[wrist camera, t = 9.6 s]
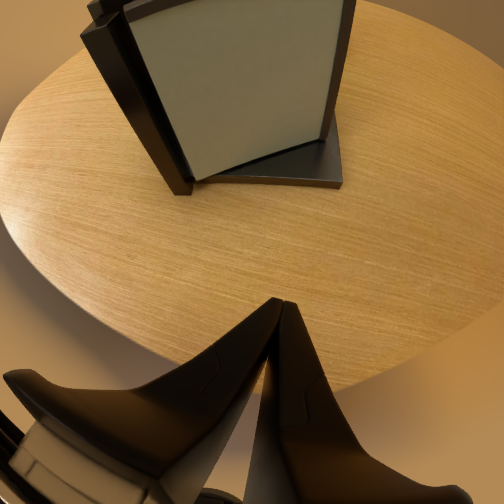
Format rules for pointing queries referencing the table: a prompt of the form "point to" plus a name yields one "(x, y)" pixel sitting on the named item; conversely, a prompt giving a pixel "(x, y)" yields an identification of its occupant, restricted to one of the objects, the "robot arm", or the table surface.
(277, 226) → the table surface
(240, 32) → the shower door
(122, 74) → the shower stall
